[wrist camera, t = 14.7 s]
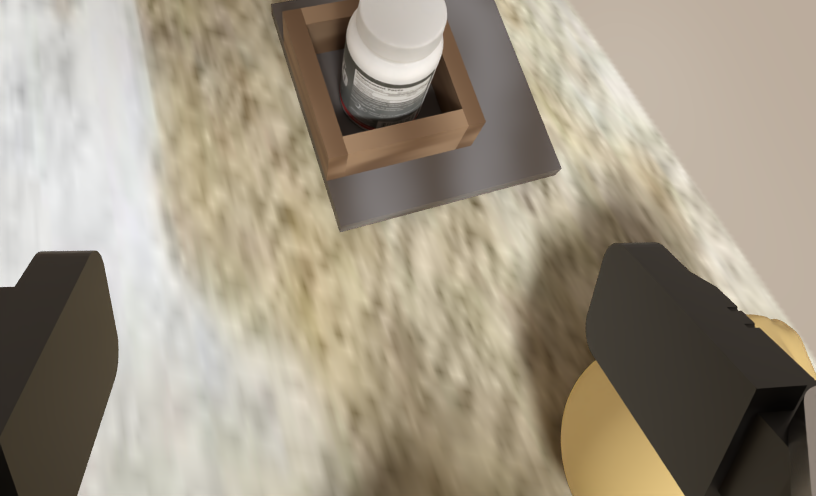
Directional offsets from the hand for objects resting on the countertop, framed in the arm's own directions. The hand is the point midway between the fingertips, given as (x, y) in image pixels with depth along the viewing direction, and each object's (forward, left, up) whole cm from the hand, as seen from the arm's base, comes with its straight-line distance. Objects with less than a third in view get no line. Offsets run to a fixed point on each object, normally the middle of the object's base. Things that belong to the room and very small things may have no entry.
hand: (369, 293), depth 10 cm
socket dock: (+10, +14, -23) cm, 29 cm away
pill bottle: (+7, +14, -22) cm, 27 cm away
